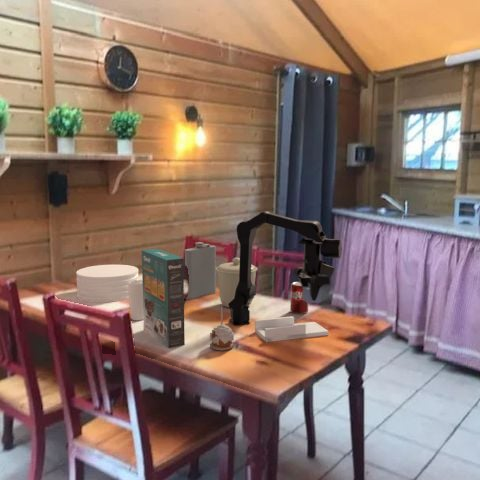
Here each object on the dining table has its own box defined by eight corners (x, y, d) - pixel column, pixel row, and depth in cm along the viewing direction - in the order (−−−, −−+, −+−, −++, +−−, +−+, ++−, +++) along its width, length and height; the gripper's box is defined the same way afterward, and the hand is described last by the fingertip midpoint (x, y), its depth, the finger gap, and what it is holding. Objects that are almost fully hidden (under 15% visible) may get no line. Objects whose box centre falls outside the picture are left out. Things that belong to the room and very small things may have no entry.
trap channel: (266, 342, 178) (266, 329, 177) (254, 331, 189) (255, 319, 188) (328, 335, 185) (328, 323, 185) (314, 325, 196) (314, 314, 195)
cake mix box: (184, 344, 175) (183, 258, 170) (168, 348, 172) (166, 260, 167) (158, 327, 193) (157, 248, 189) (143, 330, 190) (141, 250, 186)
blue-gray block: (308, 303, 184) (309, 289, 184) (302, 299, 189) (303, 286, 188) (321, 302, 186) (321, 288, 185) (315, 298, 191) (315, 285, 190)
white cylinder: (150, 317, 205) (149, 281, 203) (140, 322, 199) (139, 284, 197) (136, 315, 208) (135, 279, 205) (125, 320, 202) (124, 282, 199)
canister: (234, 314, 210) (234, 263, 207) (207, 304, 224) (206, 257, 221) (265, 306, 222) (266, 258, 219) (238, 297, 236) (238, 252, 232)
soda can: (307, 314, 209) (307, 286, 208) (289, 313, 211) (289, 285, 209) (308, 309, 217) (309, 282, 215) (291, 308, 218) (291, 281, 216)
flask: (210, 291, 247) (210, 239, 243) (217, 292, 244) (216, 240, 240) (182, 298, 235) (181, 244, 231) (189, 299, 232) (188, 245, 228)
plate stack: (151, 292, 246) (150, 268, 244) (107, 305, 222) (106, 280, 221) (109, 284, 261) (109, 262, 259) (64, 296, 237) (63, 272, 235)
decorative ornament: (210, 343, 176) (209, 301, 174) (232, 343, 177) (232, 300, 175) (210, 352, 169) (210, 307, 166) (234, 351, 169) (234, 307, 167)
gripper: (344, 259, 179) (343, 303, 181) (320, 251, 196) (319, 290, 199) (315, 261, 175) (314, 306, 178) (293, 252, 193) (292, 292, 195)
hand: (310, 298), depth 187 cm, fingers closed on blue-gray block, 5 cm apart
